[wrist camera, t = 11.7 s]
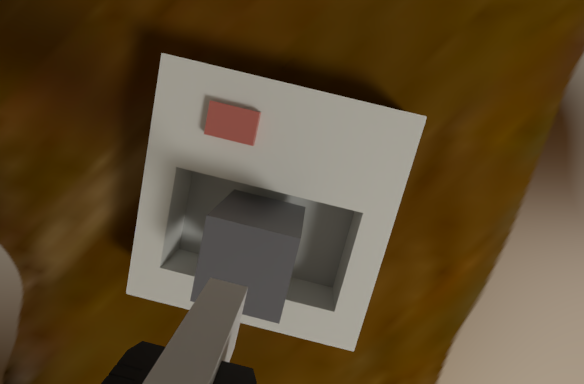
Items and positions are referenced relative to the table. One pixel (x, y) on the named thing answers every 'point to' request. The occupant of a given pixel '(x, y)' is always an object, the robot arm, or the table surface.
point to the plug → (251, 250)
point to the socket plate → (272, 187)
